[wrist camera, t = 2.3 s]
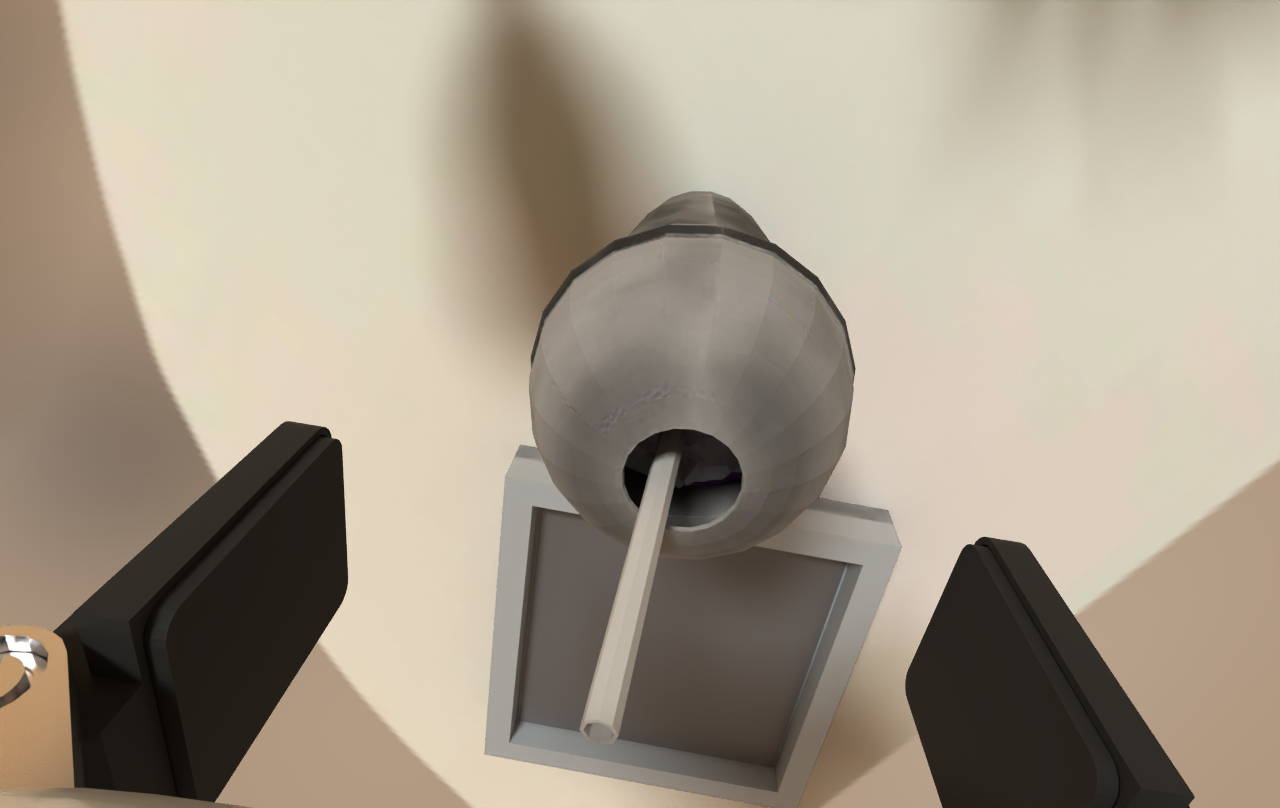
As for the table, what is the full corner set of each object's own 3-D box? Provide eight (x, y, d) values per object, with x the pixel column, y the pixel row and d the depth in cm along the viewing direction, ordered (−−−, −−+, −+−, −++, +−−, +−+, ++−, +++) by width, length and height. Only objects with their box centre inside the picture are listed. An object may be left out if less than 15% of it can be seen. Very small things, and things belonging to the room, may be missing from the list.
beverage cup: (841, 257, 26) (1123, 725, 8) (694, 380, 29) (662, 934, 11) (704, 102, 24) (677, 266, 6) (560, 250, 27) (254, 661, 9)
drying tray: (888, 510, 30) (901, 547, 28) (790, 767, 38) (795, 811, 36) (520, 444, 31) (505, 476, 28) (497, 713, 38) (484, 754, 36)
